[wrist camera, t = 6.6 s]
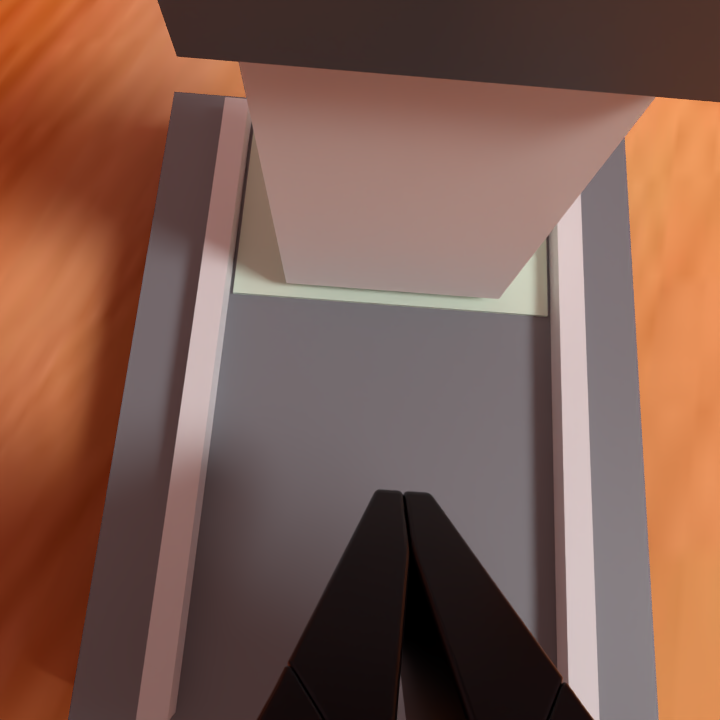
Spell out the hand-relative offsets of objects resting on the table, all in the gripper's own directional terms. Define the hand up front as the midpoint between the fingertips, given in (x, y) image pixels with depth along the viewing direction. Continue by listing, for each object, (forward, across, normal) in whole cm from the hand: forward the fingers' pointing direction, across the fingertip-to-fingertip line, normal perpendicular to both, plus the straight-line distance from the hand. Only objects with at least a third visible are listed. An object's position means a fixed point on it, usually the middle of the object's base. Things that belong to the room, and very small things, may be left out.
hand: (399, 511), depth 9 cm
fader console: (+6, 0, +2) cm, 7 cm away
